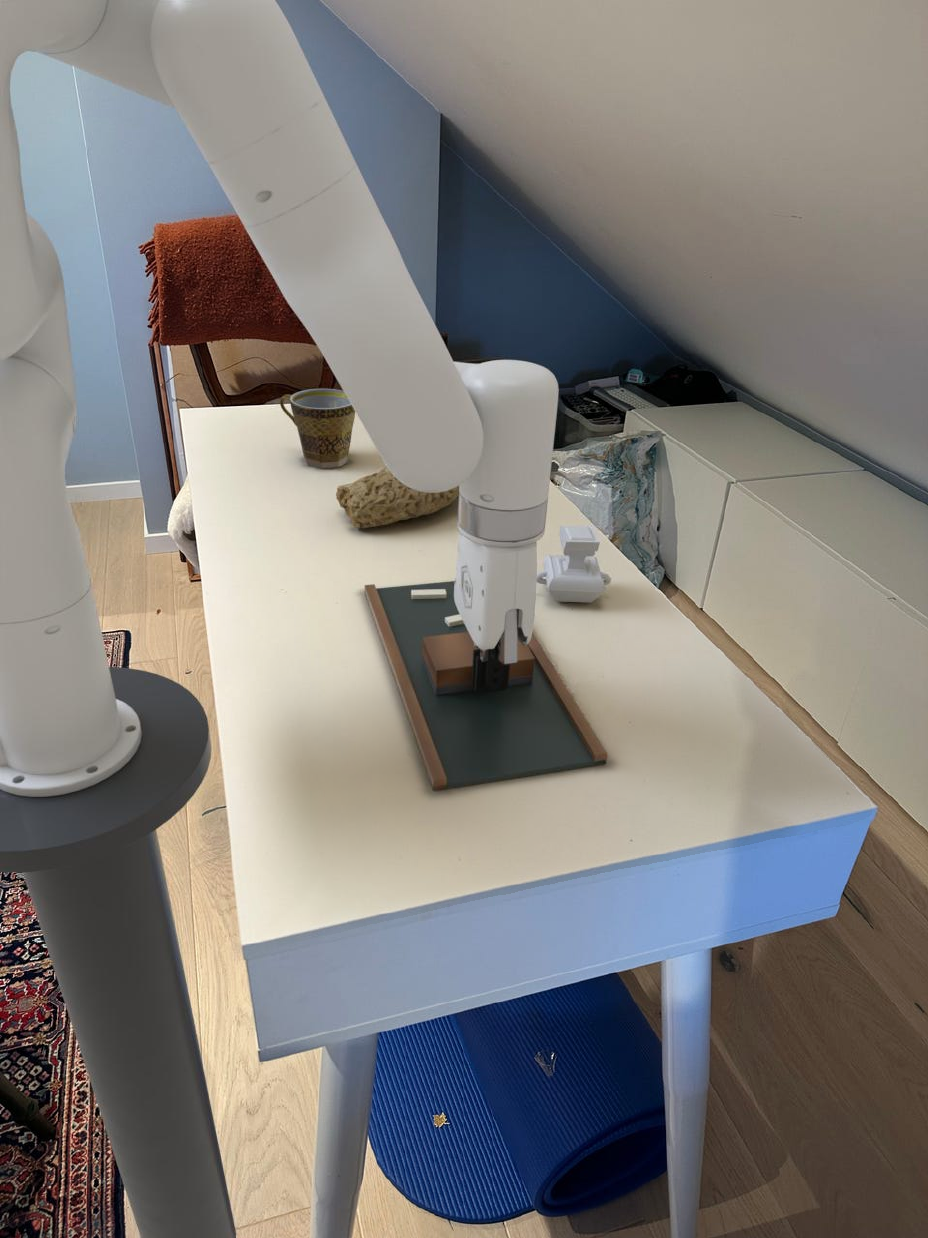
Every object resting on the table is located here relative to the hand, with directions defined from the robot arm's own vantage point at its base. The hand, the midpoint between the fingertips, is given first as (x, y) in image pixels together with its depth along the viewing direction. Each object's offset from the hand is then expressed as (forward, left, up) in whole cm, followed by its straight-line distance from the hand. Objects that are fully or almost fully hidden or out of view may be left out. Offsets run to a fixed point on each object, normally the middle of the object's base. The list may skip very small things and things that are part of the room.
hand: (489, 686), depth 83 cm
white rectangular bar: (-1, +20, -2) cm, 21 cm away
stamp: (+16, +18, -2) cm, 24 cm away
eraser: (0, +5, -2) cm, 5 cm away
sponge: (+2, +45, -2) cm, 45 cm away
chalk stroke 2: (+1, +14, -2) cm, 15 cm away
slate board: (0, +6, -2) cm, 7 cm away
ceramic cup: (-8, +66, -2) cm, 67 cm away
